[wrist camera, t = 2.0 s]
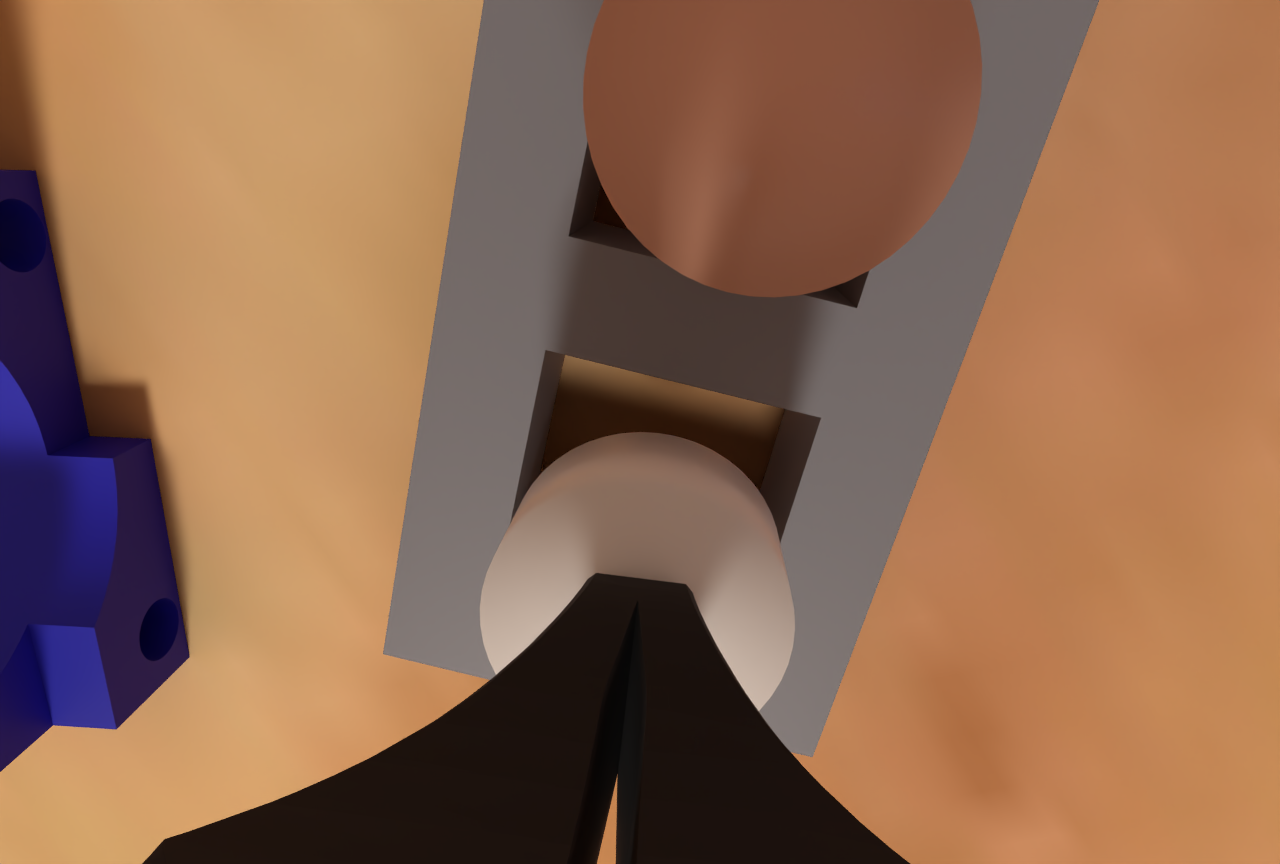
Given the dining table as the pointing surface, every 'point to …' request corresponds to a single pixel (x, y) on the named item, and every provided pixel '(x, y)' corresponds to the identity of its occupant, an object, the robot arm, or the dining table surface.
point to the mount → (697, 339)
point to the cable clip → (69, 519)
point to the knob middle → (779, 131)
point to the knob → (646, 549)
